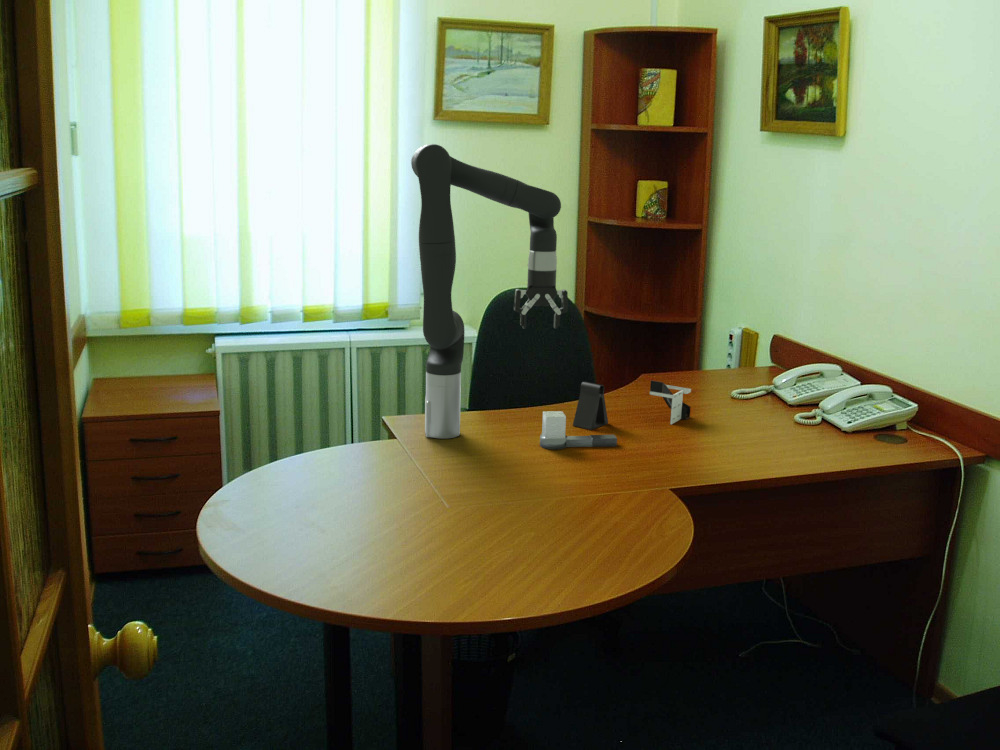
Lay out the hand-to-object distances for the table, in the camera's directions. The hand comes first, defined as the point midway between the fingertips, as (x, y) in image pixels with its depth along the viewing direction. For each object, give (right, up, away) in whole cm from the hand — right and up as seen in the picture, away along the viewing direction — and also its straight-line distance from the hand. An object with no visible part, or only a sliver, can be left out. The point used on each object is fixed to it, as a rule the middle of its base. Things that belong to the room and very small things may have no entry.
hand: (539, 328), depth 256 cm
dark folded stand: (+15, -27, +12) cm, 33 cm away
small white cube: (+3, -28, -8) cm, 30 cm away
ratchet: (+10, -31, -7) cm, 33 cm away
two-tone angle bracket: (+38, -26, +20) cm, 50 cm away
